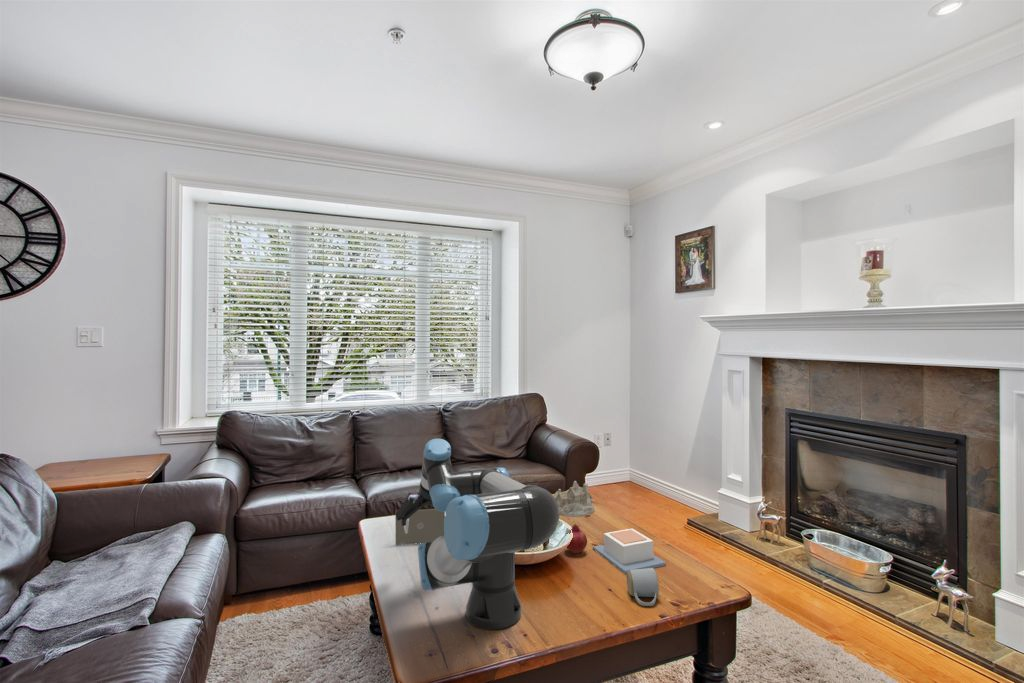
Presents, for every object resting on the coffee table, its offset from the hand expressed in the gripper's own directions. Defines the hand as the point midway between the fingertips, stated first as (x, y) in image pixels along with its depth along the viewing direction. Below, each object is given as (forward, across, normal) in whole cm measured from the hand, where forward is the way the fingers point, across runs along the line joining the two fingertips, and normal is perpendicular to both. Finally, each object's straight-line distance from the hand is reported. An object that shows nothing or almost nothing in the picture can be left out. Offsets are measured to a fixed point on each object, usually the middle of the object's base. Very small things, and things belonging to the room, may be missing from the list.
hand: (427, 526), depth 160 cm
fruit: (+13, -52, +13) cm, 55 cm away
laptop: (+31, -4, -16) cm, 35 cm away
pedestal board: (+8, -67, +21) cm, 70 cm away
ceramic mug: (-6, -56, +41) cm, 69 cm away
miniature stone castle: (+35, -72, -18) cm, 82 cm away
